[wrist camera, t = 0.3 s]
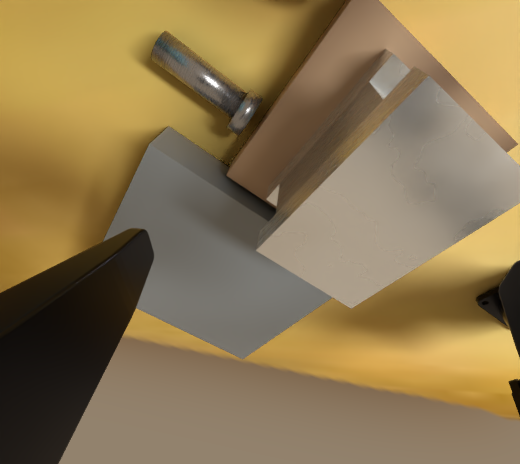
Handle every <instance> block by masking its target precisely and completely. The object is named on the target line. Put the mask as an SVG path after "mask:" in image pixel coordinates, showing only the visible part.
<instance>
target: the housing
mask: <svg viewBox="0 0 520 464" xmlns="http://www.w3.org/2000/svg"><path fill="white" fill-rule="evenodd" d="M266 200H268V201H269V202H271V203H272V204H274V205H275V206H276V214H275V215H274V216H273V217H272V219H271V220H270V221H269V222H268V223H267V224H266V225H265V226H264V227H263V228H262V229H261V230H260V233H259V238H258V243H257V248H256V251H257V252H259V253H261V254H262V255H264V256H265V257H267V258H269V259H270V260H272V261H274V262H275V263H277V264H279V265H280V266H282V267H284V268H285V269H287V270H288V271H290V272H292V273H293V274H295V275H297V276H298V277H300V278H302V279H303V280H305V281H307V282H308V283H310V284H311V285H313V286H315V287H316V288H318V289H320V290H321V291H323V292H325V293H326V294H328V295H330V296H331V297H333V298H334V299H336V300H338V301H339V302H341V303H343V304H344V305H346V306H348V307H349V308H353V307H355V306H356V305H358V304H359V303H361V302H363V301H364V300H366V299H367V298H369V297H371V296H372V295H374V294H375V293H377V292H379V291H380V290H382V289H383V288H385V287H387V286H388V285H390V284H391V283H393V282H395V281H396V280H398V279H399V278H401V277H403V276H404V275H406V274H407V273H409V272H411V271H412V270H414V269H415V268H417V267H419V266H420V265H422V264H423V263H425V262H426V261H428V260H430V259H431V258H433V257H434V256H436V255H438V254H439V253H441V252H442V251H444V250H446V249H447V248H449V247H450V246H452V245H454V244H455V243H457V242H458V241H460V240H462V239H463V238H465V237H466V236H468V235H470V234H471V233H473V232H474V231H476V230H478V229H479V228H481V227H482V226H484V225H486V224H487V223H489V222H490V221H492V220H494V219H495V218H497V217H498V216H500V215H501V214H503V213H505V212H506V211H508V210H509V209H511V208H513V207H514V206H516V205H517V204H519V203H520V166H519V165H518V164H517V163H516V162H515V161H514V160H513V159H512V158H511V157H510V156H509V155H508V154H507V153H506V152H505V151H504V150H503V149H502V148H501V147H500V146H499V145H498V144H497V143H496V142H495V141H494V140H493V139H492V138H491V137H490V136H489V135H488V134H487V133H486V132H485V131H484V130H483V129H482V128H481V127H480V126H479V125H478V124H477V123H476V122H475V121H474V120H473V119H472V118H471V117H470V116H469V115H468V114H467V113H466V112H465V111H464V110H463V109H462V108H461V107H460V106H459V105H458V104H457V103H456V102H455V101H454V100H453V99H452V98H451V97H450V96H449V95H448V94H447V93H446V92H445V91H444V90H443V89H442V88H441V87H440V86H439V85H438V84H437V83H436V82H435V81H434V80H433V79H432V78H431V77H430V76H429V75H428V74H426V73H425V72H423V71H421V70H420V69H418V68H416V67H415V66H414V67H413V68H412V69H411V70H410V69H409V68H408V67H407V66H406V65H405V64H404V63H403V62H402V61H401V60H400V59H399V58H398V57H397V56H396V55H395V54H393V53H392V52H390V51H389V50H387V49H385V51H384V52H383V53H382V54H381V55H380V56H379V58H378V59H377V60H376V61H375V62H374V64H373V65H372V66H371V67H370V68H369V69H368V71H367V72H366V73H365V74H364V75H363V76H362V78H361V79H360V80H359V81H358V82H357V83H356V85H355V86H354V87H353V88H352V89H351V91H350V92H349V93H348V94H347V95H346V96H345V98H344V99H343V100H342V101H341V102H340V103H339V105H338V106H337V107H336V108H335V109H334V111H333V112H332V113H331V114H330V115H329V116H328V118H327V119H326V120H325V121H324V122H323V123H322V125H321V126H320V127H319V128H318V129H317V130H316V132H315V133H314V134H313V135H312V136H311V138H310V139H309V140H308V141H307V142H306V143H305V145H304V146H303V147H302V148H301V149H300V150H299V152H298V153H297V154H296V155H295V156H294V157H293V159H292V160H291V161H290V162H289V163H288V165H287V166H286V167H285V168H284V169H283V170H282V172H281V173H280V174H279V175H278V176H277V177H276V179H275V180H274V181H273V182H272V183H271V185H270V186H269V187H268V192H267V197H266Z"/></svg>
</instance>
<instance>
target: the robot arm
mask: <svg viewBox="0 0 520 464" xmlns="http://www.w3.org/2000/svg"><path fill="white" fill-rule="evenodd" d="M153 260H154V251H153V248H152V244H151V241H150V237H149V234H148V232H147V231H146V230H145V229H139V228H129V229H127V230H125V231H123V232H121V233H119V234H117V235H115V236H113V237H111V238H109V239H107V240H105V241H103V242H101V243H99V244H97V245H95V246H93V247H91V248H89V249H87V250H85V251H83V252H81V253H79V254H77V255H75V256H73V257H71V258H69V259H67V260H65V261H63V262H61V263H59V264H57V265H55V266H53V267H51V268H49V269H47V270H45V271H43V272H41V273H39V274H37V275H35V276H33V277H31V278H29V279H27V280H25V281H23V282H21V283H19V284H17V285H15V286H13V287H11V288H9V289H7V290H5V291H3V292H1V293H0V464H58V463H59V461H60V460H61V457H62V456H63V453H64V451H65V450H66V447H67V446H68V443H69V442H70V440H71V438H72V436H73V433H74V432H75V430H76V427H77V425H78V423H79V421H80V419H81V417H82V416H83V413H84V412H85V409H86V408H87V406H88V403H89V402H90V400H91V397H92V396H93V394H94V392H95V389H96V388H97V385H98V384H99V382H100V380H101V378H102V376H103V373H104V372H105V370H106V367H107V366H108V364H109V362H110V360H111V357H112V356H113V353H114V352H115V349H116V348H117V346H118V343H119V342H120V339H121V338H122V336H123V334H124V332H125V330H126V328H127V326H128V324H129V322H130V320H131V318H132V315H133V313H134V311H135V309H136V306H137V304H138V302H139V299H140V296H141V293H142V291H143V288H144V285H145V283H146V280H147V277H148V274H149V272H150V269H151V266H152V264H153ZM476 302H477V303H478V305H479V306H480V307H481V308H483V309H484V310H486V311H487V312H488V313H490V314H491V315H492V316H494V317H495V318H497V319H498V320H499V321H501V322H502V323H503V324H505V325H506V326H507V327H509V329H510V331H511V334H512V337H513V340H514V343H515V346H516V349H517V352H518V355H519V357H520V261H517V262H516V263H514V264H513V266H512V267H511V269H510V270H509V272H508V273H507V275H506V276H505V278H504V279H503V281H502V282H501V284H500V286H499V287H497V288H495V289H493V290H491V291H489V292H487V293H485V294H483V295H481V296H479V297H477V299H476ZM509 384H510V387H511V390H512V396H513V399H514V402H515V404H516V407H517V410H518V413H519V415H520V379H519V380H518V379H514V380H511V381H509Z"/></svg>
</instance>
